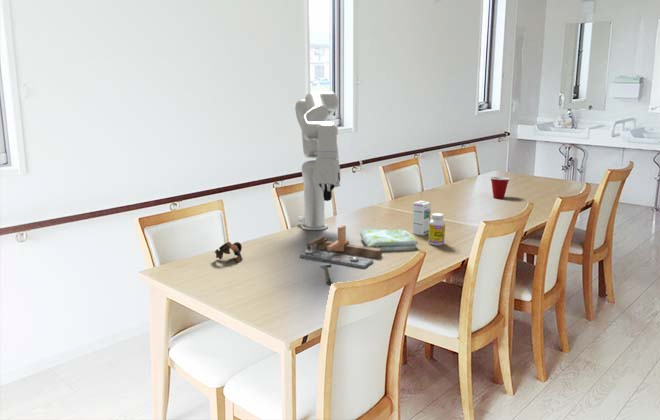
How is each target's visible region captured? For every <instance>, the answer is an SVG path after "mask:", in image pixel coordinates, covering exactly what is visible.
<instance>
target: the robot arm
mask: <svg viewBox="0 0 660 420" xmlns="http://www.w3.org/2000/svg"><path fill="white" fill-rule="evenodd" d="M338 105H339V99H338V96H337V94H336V93H335V92H334V91H330V90H329V91H328V90H327V91H326V90H325V91H324V90H323V91H310V92H308V93H306V95H305V98H304V99H303V98H302V99H299V100H298V101H296V103H295V107H294V110H295V116H296V120H297V122H298V124H299V127H300V130H301V137H302V150H303V155H304V157H305V158H308V159H312V160H307V161H305V162H303V164H301V175H302V181H303V211H304V213H303V216H300V215H299V216H298V217H297V222H301V224H300V227H302V228H301V229H302V230H303V229H304V230H307V231H322V230H325V229H328V227H329V224H328V223H327V222H325V219H326V218H325V217H326V215H325V202H330V201H331V200H332V199H333V197H332V196H333V195H332V193H333V190H334V189H335V188H339V187H340V186H341V183H340V182H341V167H340V161H339V159H340V158H339V148H338V141H337V140H338V134H339V133H338V132H339V130H338V129H339V128H338V125H336V123H335V122H334V121H325V120H327V119H328V118H330V117H332V116H333V115H334V113H335V112H336V111H337V110H338ZM313 159H315V160H313Z"/></svg>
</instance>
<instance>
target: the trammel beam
mask: <svg viewBox="0 0 660 420" xmlns="http://www.w3.org/2000/svg"><path fill="white" fill-rule="evenodd" d="M334 242H335V241H332V240H329V238H328V237H325V236H318V237H317V238H314V239H312V240H311V241H309V242H307V243H306V249H307V250H311V249H312V247H315V246H316V249H317V250H322V251H323V250H324V251H327V246H328V245H330V244H332V243H334ZM331 252H335V253H341V254H342V253H344V254H347V255H348V254H351V255H354V256H360V257H361V256H362V257H368V258H372V259H373V258H374V259H380V258H381V257H382V256H383V255H382V252H383V251H382V249H379V248H372V247H367V246H365V245H364V246H363V245H359V244H351V243H349V244H345V245H344V251H336V250H334V249H333V250H331Z"/></svg>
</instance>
